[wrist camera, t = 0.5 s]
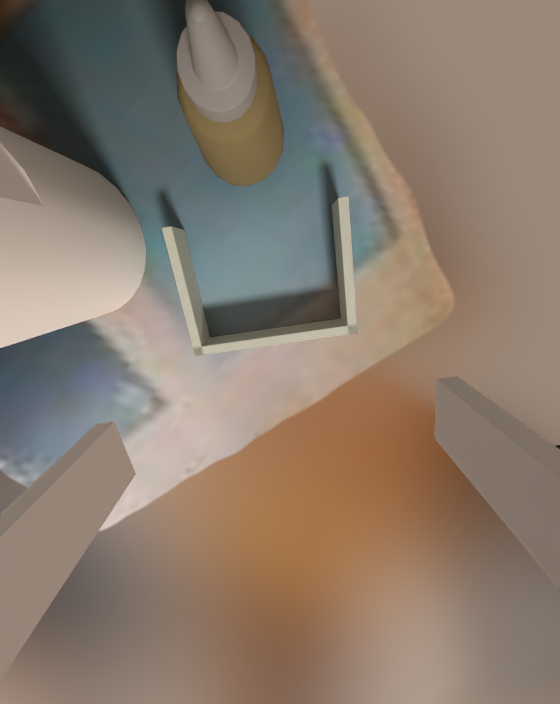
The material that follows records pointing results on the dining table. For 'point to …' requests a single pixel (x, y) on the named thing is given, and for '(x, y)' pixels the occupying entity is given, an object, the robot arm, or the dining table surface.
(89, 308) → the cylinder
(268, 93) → the squeeze bottle
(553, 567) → the robot arm
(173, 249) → the cream u-shaped frame
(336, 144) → the dining table surface
